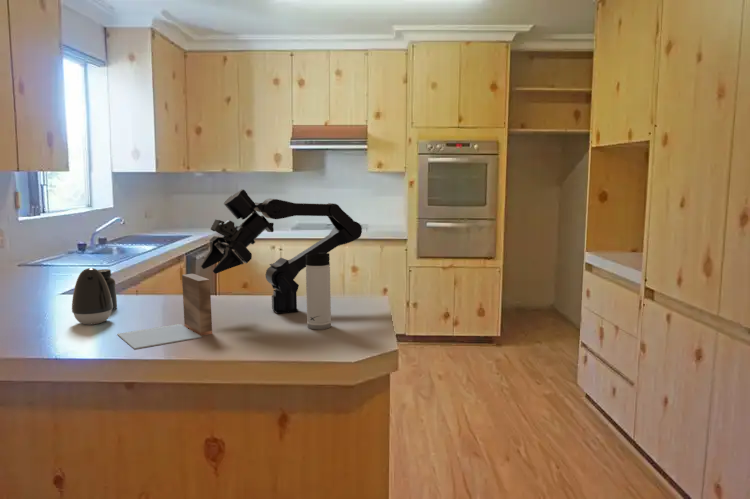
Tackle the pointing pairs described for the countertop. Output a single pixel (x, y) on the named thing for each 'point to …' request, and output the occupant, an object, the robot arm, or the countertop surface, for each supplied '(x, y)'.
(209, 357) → the countertop surface
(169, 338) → the mat
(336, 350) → the countertop surface
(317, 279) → the travel mug
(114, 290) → the supplement bottle
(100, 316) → the black white egg shape
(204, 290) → the walnut slab
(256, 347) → the countertop surface
